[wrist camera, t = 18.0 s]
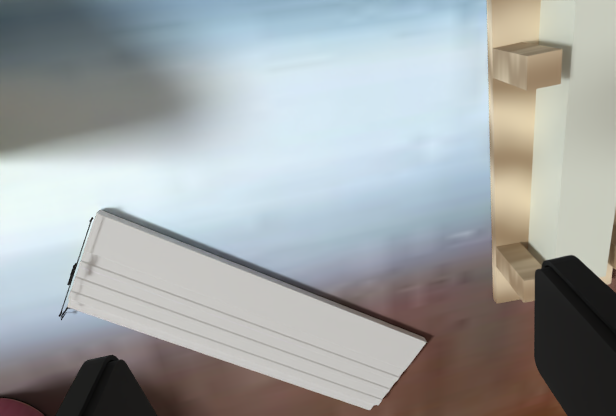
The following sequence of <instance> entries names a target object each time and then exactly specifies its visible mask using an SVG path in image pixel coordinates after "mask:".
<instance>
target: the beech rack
mask: <svg viewBox="0 0 616 416" xmlns="http://www.w3.org/2000/svg"><path fill="white" fill-rule="evenodd" d="M540 8H541V0H487V34H488V81H489V127H490V174H491V221H492V268H493V299H494V300H495V302H496V303H502V302H508V301H514V300H520V299H521V300H522V301H523V302H530V301H535V271H536V270H537V269H541V267H542V265H541V264H540V263H539V262H538V261H537V260H536V259H535V258H534V257H533V256H532V255H531V254H530V253H529V251H528V240H529V221H530V201H531V182H532V163H533V143H534V124H535V105H536V89H538V88H543V87H548V86H553V85H558V84H561V69H562V49H559V48H553V47H547V46H542V45H539V27H540ZM613 268H614V269H615V270H616V209H615V216H614V223H613V229H612V236H611V243H610V250H609V257H608V264H607V271H606V276H605V277H599V278H600V279H601V280H602V281H603V282H604V283H605V284H611V278H612V270H613Z"/></svg>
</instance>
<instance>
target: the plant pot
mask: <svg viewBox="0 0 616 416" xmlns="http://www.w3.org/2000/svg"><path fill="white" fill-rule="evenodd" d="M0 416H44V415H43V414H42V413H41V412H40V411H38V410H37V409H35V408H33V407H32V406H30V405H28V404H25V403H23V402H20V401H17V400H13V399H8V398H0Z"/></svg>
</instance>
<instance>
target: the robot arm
mask: <svg viewBox="0 0 616 416" xmlns="http://www.w3.org/2000/svg"><path fill="white" fill-rule="evenodd" d="M534 357H535V363H536V366H537V368H538V371H539V373H540V374H541V376H542V377H543V379H544V381H545V382H546V384H547V385H548V387H549V388H550V390H551V391H552V393H553V394H554V396H555V397H556V399H557V400H558V402H559V403H560V405H561V406H562V408H563V409H564V411H565V412H566V414H567V416H616V293H615V292H614V291H613V290H612V289H611V288H610V287H609V286H607V285H606V284H605V283H604V282H603V281H602V280H601V279H600V278H599V277H598V276H597V275H596V274H595V273H593V272H592V271H591V270H590V269H589V268H588V267H587V266H586V265H585V264H584V263H583V262H582V261H581V260H580V259H578V258H577V257H576V256H574V255H568V256H563V257H559V258H554V259H549V260H545V261H543V263H542V267H541V269H537V270H536V271H535V342H534ZM55 416H157V414H156V413H155V411H154V409H153V408H152V406H151V404H150V403H149V401H148V399H147V398H146V396H145V394H144V392H143V391H142V389H141V387H140V386H139V384H138V382H137V381H136V379H135V377H134V376H133V374H132V372H131V371H130V369H129V367H128V366H127V364H126V363H125V361H123V360H118V358H117V357H116V356H114V355H109V356H104V357H100V358H95V359H91V360H87V361H86V362H84V364H83V365H82V367H81V369H80V370H79V372H78V374H77V376H76V378H75V380H74V382H73V384H72V385H71V387H70V389H69V391H68V393H67V395H66V397H65V399H64V400H63V402H62V404H61V406H60V408H59V410H58V412H57V414H56V415H55Z"/></svg>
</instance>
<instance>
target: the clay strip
mask: <svg viewBox="0 0 616 416" xmlns="http://www.w3.org/2000/svg"><path fill="white" fill-rule="evenodd" d="M539 45H542V46H547V47H553V48H559V49H562V69H561V84H558V85H553V86H548V87H543V88H538V89H536V105H535V124H534V143H533V163H532V182H531V201H530V221H529V240H528V251H529V253H530V254H531V255H532V256H533V257H534V258H535V259H536V260H537V261H538V262H539V263H540V264H541V265H542V263H543V261H545V260H549V259H554V258H559V257H563V256H568V255H574V256H576V257H577V258H578V259H580V260H581V261H582V262H583V263H584V264H585V265H586V266H587V267H588V268H589V269H590V270H591V271H592V272H593V273H595V274H596V275H597V276H598V277H605V276H606V271H607V264H608V257H609V250H610V243H611V236H612V229H613V223H614V216H615V209H616V0H541V8H540V27H539Z"/></svg>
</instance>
